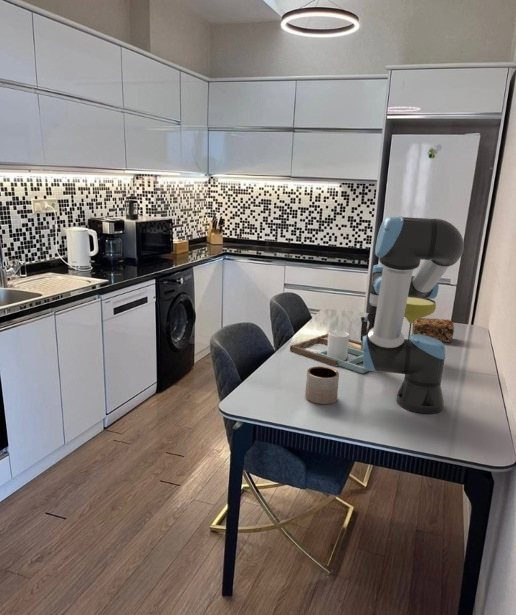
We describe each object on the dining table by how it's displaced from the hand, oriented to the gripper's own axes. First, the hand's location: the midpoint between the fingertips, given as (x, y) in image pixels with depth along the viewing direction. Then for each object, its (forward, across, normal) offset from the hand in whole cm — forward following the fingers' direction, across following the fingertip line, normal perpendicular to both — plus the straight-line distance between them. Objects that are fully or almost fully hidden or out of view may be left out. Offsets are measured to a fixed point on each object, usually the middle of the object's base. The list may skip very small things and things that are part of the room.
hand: (372, 360), depth 191 cm
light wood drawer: (+3, +22, -14) cm, 26 cm away
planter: (+3, -3, +39) cm, 39 cm away
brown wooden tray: (+3, +23, -4) cm, 23 cm away
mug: (+3, +16, 0) cm, 17 cm away
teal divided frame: (+3, +10, 0) cm, 11 cm away
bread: (+4, +2, -58) cm, 59 cm away
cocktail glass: (+3, -2, -25) cm, 26 cm away
